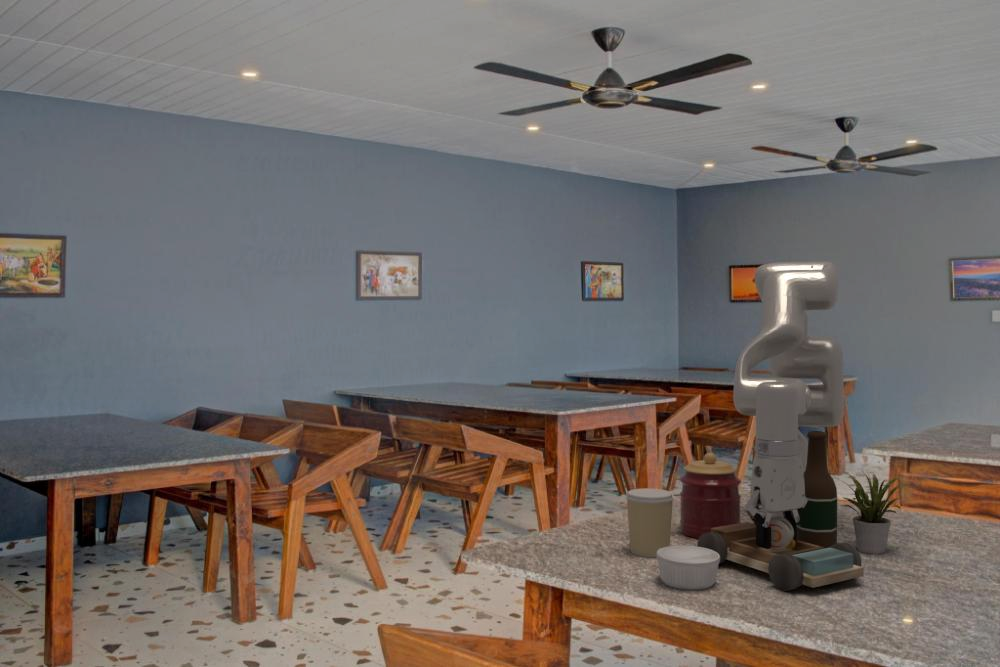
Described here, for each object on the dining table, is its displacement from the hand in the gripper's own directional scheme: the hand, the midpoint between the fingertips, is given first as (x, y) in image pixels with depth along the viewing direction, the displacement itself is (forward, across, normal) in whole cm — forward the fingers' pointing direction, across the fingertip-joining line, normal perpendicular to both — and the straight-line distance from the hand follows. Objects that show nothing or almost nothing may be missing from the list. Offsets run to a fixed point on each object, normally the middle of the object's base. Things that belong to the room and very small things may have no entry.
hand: (776, 543), depth 165 cm
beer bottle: (+5, +18, +6) cm, 20 cm away
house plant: (+5, +28, -1) cm, 28 cm away
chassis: (+5, 0, 0) cm, 5 cm away
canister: (+5, +9, +27) cm, 29 cm away
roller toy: (+1, 0, 0) cm, 1 cm away
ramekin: (+5, -19, +3) cm, 20 cm away
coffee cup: (+5, -12, +22) cm, 26 cm away
